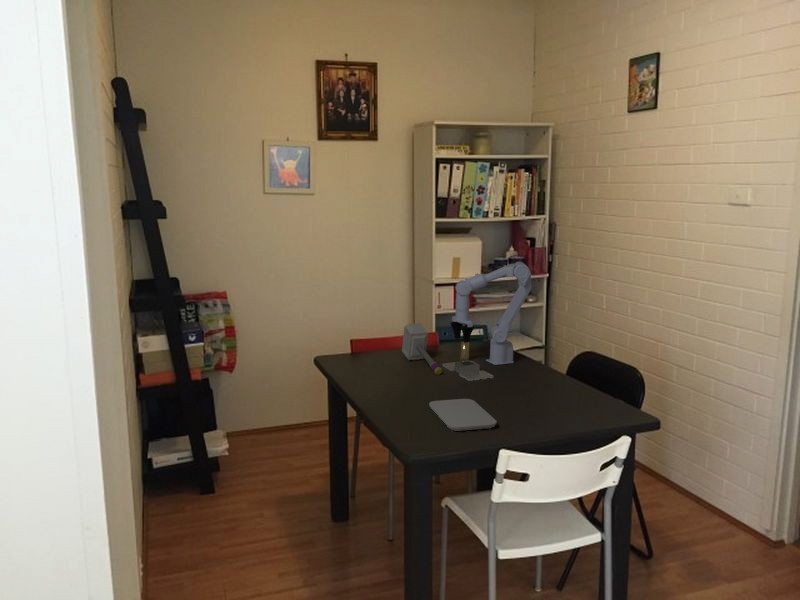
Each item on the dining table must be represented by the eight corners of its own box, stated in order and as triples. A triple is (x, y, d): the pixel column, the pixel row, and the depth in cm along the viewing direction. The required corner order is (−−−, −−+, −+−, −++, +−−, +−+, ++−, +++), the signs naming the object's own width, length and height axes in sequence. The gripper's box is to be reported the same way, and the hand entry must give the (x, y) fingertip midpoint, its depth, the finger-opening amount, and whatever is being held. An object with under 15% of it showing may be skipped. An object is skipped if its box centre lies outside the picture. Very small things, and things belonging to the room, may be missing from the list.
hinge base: (465, 363, 292) (465, 355, 292) (493, 378, 271) (493, 369, 270) (442, 365, 288) (442, 357, 287) (468, 381, 267) (469, 372, 266)
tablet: (471, 404, 241) (471, 398, 240) (499, 430, 216) (499, 423, 216) (426, 407, 237) (426, 401, 237) (450, 434, 212) (450, 427, 212)
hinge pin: (466, 359, 299) (466, 341, 298) (470, 361, 296) (470, 343, 295) (459, 359, 298) (459, 341, 296) (462, 361, 295) (463, 343, 293)
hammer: (449, 354, 273) (421, 321, 298) (432, 356, 270) (404, 322, 295) (445, 387, 279) (417, 352, 304) (427, 389, 276) (401, 353, 301)
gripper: (446, 306, 296) (445, 337, 298) (462, 312, 283) (461, 344, 285) (460, 305, 299) (460, 336, 301) (477, 311, 285) (476, 343, 288)
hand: (461, 340), depth 293 cm, fingers open, 7 cm apart
